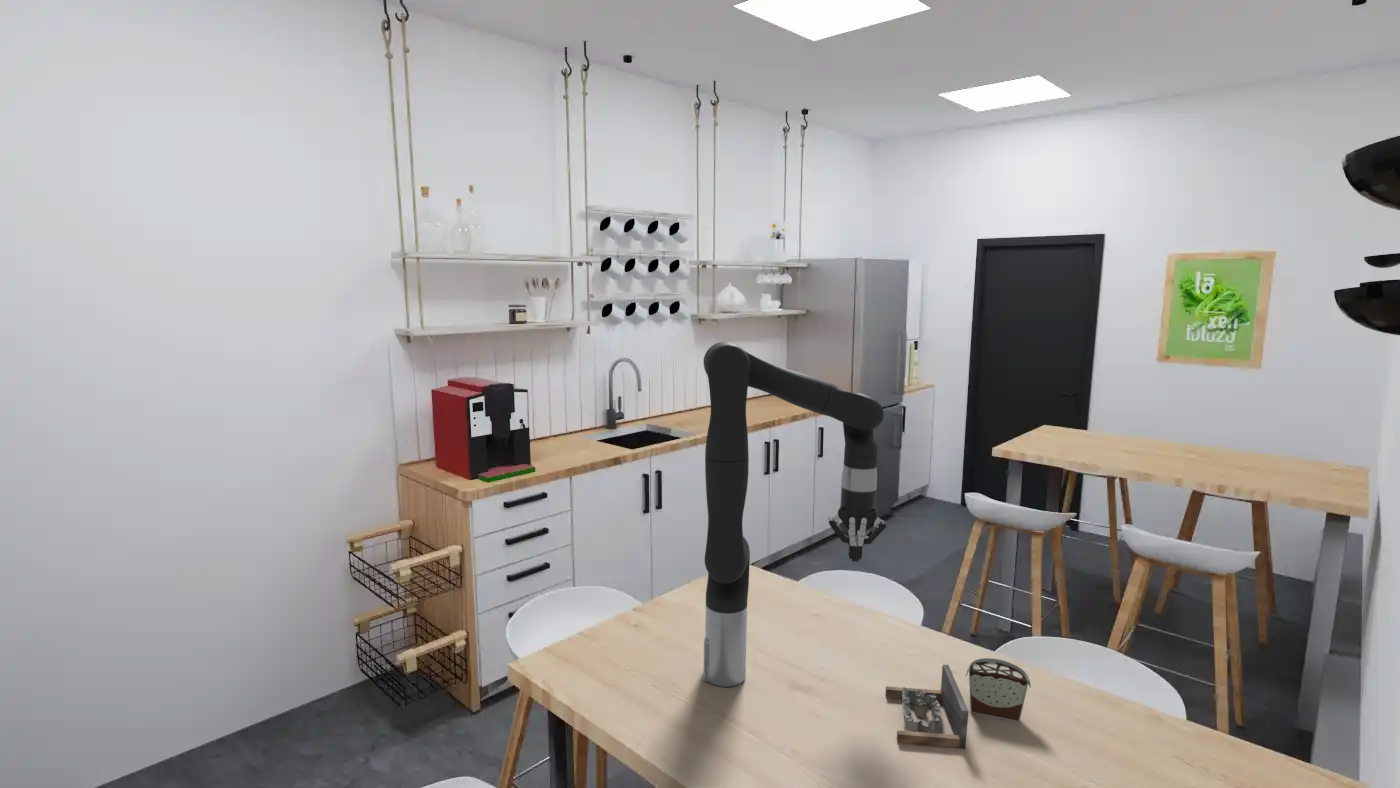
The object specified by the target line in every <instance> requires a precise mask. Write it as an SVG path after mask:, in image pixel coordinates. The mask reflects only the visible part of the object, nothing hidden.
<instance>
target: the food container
mask: <svg viewBox="0 0 1400 788" xmlns="http://www.w3.org/2000/svg"><path fill="white" fill-rule="evenodd" d="M967 676H969V677H968V678H969V679H968V681H969V704H970V706H969V709H970V710H969V711H970V713H971V714H975V715H981V716H987V717H991V718H995V719H996V718H997V719H1000V720H1005V721H1010V722H1016V723H1020V721H1021V717H1022V713H1023V709H1024V704H1025V699H1026V695H1027V689H1028V687H1029V689H1031V688H1032V687H1031V680H1030V678H1029V675H1028V673H1027V672H1026V671H1025V670H1024V669H1022V668H1021V667H1020V666H1018V665H1016V664H1014V663H1012V662H1010V661H1006V660H1003V659H998V658H993V657H991V658H990V657H983V658H977V659H975V660H972V662H971V663H970V664H969V665H968V667H967V669H966V673H965V677H967Z"/></svg>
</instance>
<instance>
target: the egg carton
mask: <svg viewBox="0 0 1400 788" xmlns="http://www.w3.org/2000/svg"><path fill="white" fill-rule="evenodd" d="M902 688H903V693H902V699H901V700H902V701H901V703H902V712H903V717H904V718H905V721H904V726H905V728H907V729H909V730H910V731H911V732H919V731H921V730H924V731H927V733H936V734H937V733H938V732H940V731H941V728H942V727H941V726H942V711H941V704H940V702H938V701H937V699H936V696H935V695H934V694H932V695H928V694H927V692H921V691H916V690H914V689H913V690H910V689H907V688H908V687H905V686H904V687H902ZM910 704H913V705H914V714H915V715H916V716H918V717H925V716H927V707H928V706H927V705H929V707H930V708H931V712H930V713H931V714H930V715H931V716H932V717H933V719H931V720H930V721H929V722H928V721H926V720H925V719H922V718H919V719H918V718H917V720H916V721H914V718H913V717H912V709H911V707H910V706H911V705H910Z"/></svg>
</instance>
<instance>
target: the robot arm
mask: <svg viewBox="0 0 1400 788" xmlns="http://www.w3.org/2000/svg"><path fill="white" fill-rule="evenodd" d="M703 368H704V371H705V374H706V376H707V379H708V387H709V388H708V389H709V402H710V416H709V423H708V428H707V434H706V442H705V454H704V456H705V458H704V462H705V463H704V467H705V469H704V471H705V472H704V473H705V474H704V475H705V491H706V494H705V495H706V507H707V536H706V543H705V552H704V553H705V554H704V565H705V568H706V571H707V572H708V573H707V584H706V589H705V590H706V591H705V627H704V628H705V629H704V630H705V632H704V633H705V634H704V641H703V678H702V679H703V682H708V683H709V684H712V685H715V686H718V687H727V688H728V687H734V686H738V685H740V684H741V683H743V682H744V681H745V679H746V670H747V666H746V665H747V630H748V627H747V626H748V597H749V586H750V585H749V584H750V565H751V564H750V561H751V553H750V552H751V551H750V545H749V543H748V541H747V539H746V538H745V537H744V535H743V533H744V532H743V531H744V530H743V521H744V520H743V519H744V518H743V517H744V510H745V506H746V505H745V504H746V500H747V499H746V497H747V492H748V484H749V482H748V481H749V463H750V461H749V459H750V458H749V435H748V433H749V432H748V424H747V397H748V388H753V389H756V390H758V391H762V392H765V393H767V394H770V395H772V396H774V397H775V398H778V399H781V400H782V401H785V402H787V403H790V404H792V405H793V406H797V407H800V408H802V409H804V410H807V411H810V412H813V413H816V414H819V415H822V416H827V417H830V418H833V419H834V420H836V421H838V422H841V423H842V427H843V437H844V454H843V455H844V456H843V467H842V473H841V481H840V482H841V487H840V488H841V489H840V490H841V491H840V506H839V509H838V510H837V514H835V515H834V516H833V517H832V516H829V517H828V523H829V526H830V527H831V529H832V530H833V531H834V532H835V534H836V535H837V537H838V538H839V539H840V541H841V542H842V543H843V544H847V545H848V553H847V554H848V558H849V560H851V562H854V563H857V562H858V563H859V562H860V561H859V560H862V558H863V546H864V545H871V544H872V543H873V542H874V541H875V539H877V538H878V537H879V535H881V533H882V532H883V531H885V529H886V527H887V525H886V522H885V520H884V519H881V518H880V517H878V512H877V511H876V505H877V504H876V503H877V502H876V501H877V488H878V486H877V485H878V472H877V471H878V470H877V464H878V445H877V444H878V443H877V442H876V440H875V436H874V430H875V429H876V428H879V426H881V424H882V422H883V420H884V416H885V412H884V408H883V406H882V405H881V404H880V402H879V401H878V400H876V399H875V398H873V397H872V396H869V395H868V394H866V393H862V392H858V393H856V392H852V391H849V390H846V389H843V388H842V387H840V386H838V385H836V384H834V383H833V382H829V381H826V380H823V379H821V378H817V377H815V376H813V375H812V376H811V375H808V374H805V373H802V372H798V371H795V370H792V369H789V368H785V367H783V366H779V365H778V364H777V365H776V364H774V363H771V362H768V361H766V360H764V359H762V358H760V357H757V356H755V355H753V354H752V353H749V352H748V351H746V350H744V348H742V347H741V346H739V345H738V344H736V343H734V342H731V341H719V342H716V343H714V344H713V345H711V346H710V347H709V348H708V349H707V350H706V351H705V353H704V357H703ZM840 520H841V522H842V524H843V525H844V527H845V528H846V529H847V530H848V535H846V533H845V532H844V530H843V529H842V528H841V526H840V525H841V522H840ZM872 525H873V527H872V528H871V529H870V530H869V531H868V532H867V534H866V531H867V530H868V529H869V528H870V527H871V526H872ZM856 531H857V535H856Z"/></svg>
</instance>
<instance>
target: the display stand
mask: <svg viewBox="0 0 1400 788" xmlns="http://www.w3.org/2000/svg"><path fill="white" fill-rule="evenodd" d="M941 671H942V672H941V680H940V681H941V682H940V683H941V684H940V689H928V688H927V689H926V688H911V687H906V688H907V689H910V690H913V689H914V690H916V691H921V692H927V694H928V695H932V694H934V695H935V696H936V699H937V701H938V703H941V705H942V708H943V710H944V713H945V716H946V718H947V721H948V723H949V725H950V729H951V731H952V734H947V733H937V732H936V733H929V732H920V731H918V732H913V731H912V730H909V731H908V730H897V731H896V743H897V744H898V745H899V744H900V745H911V746H923V747H935V748H946V749H947V748H948V749H957V750H958V749H959V750H966V748H967V746H966V745H967V735H968V721H969V711H970V710H969V708H968V707H967V705H966V702H965V700H964V697H963V695H962V693H961V690H960V688H959V686H958V684H957V681H956V680H955V677H954V674H953V671H952V669H951V668H950V665H949V664H942V669H941ZM903 688H904V687H898V686H885V693H884V694H885V699H893V700H903V699H902V693H903Z"/></svg>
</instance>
